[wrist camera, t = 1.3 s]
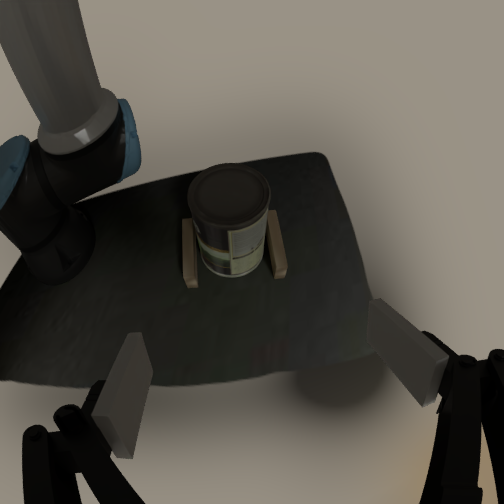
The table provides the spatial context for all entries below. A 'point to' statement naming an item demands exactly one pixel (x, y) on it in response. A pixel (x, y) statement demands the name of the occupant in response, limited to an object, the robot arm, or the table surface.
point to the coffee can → (230, 217)
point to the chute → (272, 238)
